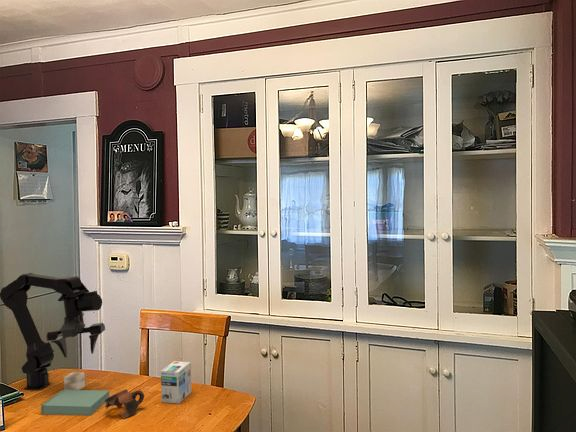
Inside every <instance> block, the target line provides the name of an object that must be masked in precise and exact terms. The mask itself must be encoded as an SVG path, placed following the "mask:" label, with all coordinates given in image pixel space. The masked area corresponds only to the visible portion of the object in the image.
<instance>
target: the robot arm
mask: <svg viewBox="0 0 576 432" xmlns="http://www.w3.org/2000/svg"><path fill="white" fill-rule="evenodd" d="M32 287H36V288H44V289H50V290H53V291H55V292H56V293H58V294H60V295H61V296H60V297H59V298H58V299H57V301H58V302H63V309H64V319H63V320H64V322H63V324H62V326H61V328H56V329H51V330H50V331H48V332H47V333H46V341H47V342H45V341H43V340H42V339H41V336H40V333H39V331H38V329H37V326H36V324H35V321H34V319H33V317H32V314H31V312H30V310H29V308H28V297H29V296H28V291H29V290H30V289H31V288H32ZM0 299H1V301H2V303H3V305H4V306H5V307H6V308H7V309H9V310H11V311H12V314H13V315H14V319H15V320H16V323H17V325H18V327H19V330H20V332H21V335H22V337H23V339H24V341H25V344H26V353H25V354H26V355H25V356H26V359H27V360H26V362H25V363H24V364H23V365H22V367H21V371H22V373H23V374H26V386H24V388H23V389H24V390H42V389H43V388H45V387H47V386H48V385H50V384H51V381H50V378H49V372H48V368H49V367H51V364H52V362H53V360H54V356H55V354H54V352H55V351H54V350H53V348H52V345H51V343H54V344H56V345H57V347H59V350H60V351H61V353H62V356H64V358H67V357H68V348H67V343H66V342H67V341H66V338H75V337H76V336H77V335H80V334H81V335H82V334H87V333H89V334H90V335H89V336H88V337H89V340H90V341H89V344H90V353H91V354H92V355H93V354H94V352H95V347H96V344H97V340H98V338H99V335H101V334H102V333H103V332H104V331H105V330H106V326H105V325H106V324H105V323H103V322H98V323H92V324H91V325H90V326H88V327H87V326H86V324H85V322H84V320H85V319H84V315H85V312H92V311H93V312H95V311H99V310H101V309H102V306H103V298H102V297H101V295H100V294H98V291H97V290H93V291H89V289H88V288H87V287H86V285H85V284H84V283H83V282H82V280H81V278H80V277H79V276H63V277H56V276H50V275H43V274H36V273H32V272H27V273H23V274H20V275H19V276H18V277H17V278H16V279H14V280H13V281H12V282H10V283H9V284H8V285H6V286H4V287H2V288H1V289H0ZM50 342H51V343H50Z"/></svg>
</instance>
